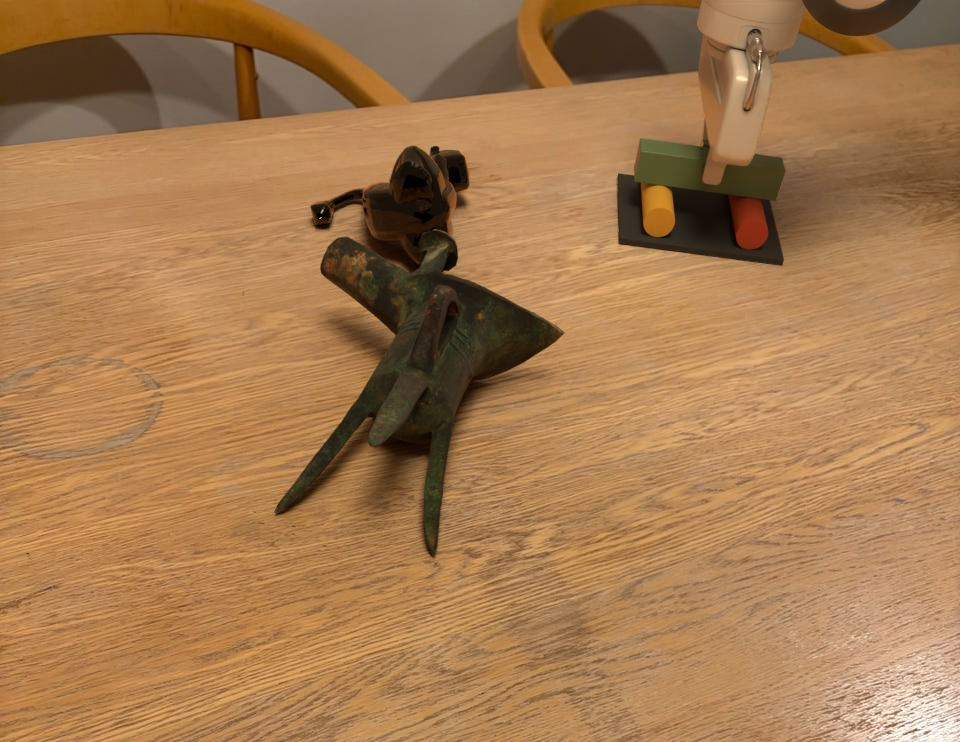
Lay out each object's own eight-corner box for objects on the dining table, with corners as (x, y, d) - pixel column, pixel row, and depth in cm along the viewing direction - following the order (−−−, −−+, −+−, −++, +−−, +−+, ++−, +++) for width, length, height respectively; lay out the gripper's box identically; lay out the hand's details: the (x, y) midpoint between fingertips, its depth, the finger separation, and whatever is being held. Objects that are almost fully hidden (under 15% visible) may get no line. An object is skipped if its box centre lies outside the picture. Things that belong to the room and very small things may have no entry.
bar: (772, 187, 102) (782, 157, 99) (776, 201, 100) (786, 170, 97) (633, 168, 101) (640, 137, 99) (634, 182, 99) (640, 150, 97)
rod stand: (766, 198, 108) (777, 164, 105) (782, 265, 99) (794, 230, 96) (617, 178, 108) (623, 143, 105) (618, 243, 98) (626, 207, 96)
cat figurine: (308, 292, 92) (354, 232, 106) (457, 271, 89) (484, 213, 103) (276, 176, 86) (329, 129, 100) (434, 150, 83) (467, 106, 97)
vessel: (485, 581, 68) (572, 350, 82) (466, 449, 59) (568, 215, 73) (231, 541, 73) (355, 329, 87) (177, 413, 64) (325, 200, 78)
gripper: (802, 61, 82) (750, 226, 93) (773, -20, 96) (731, 131, 106) (725, 50, 82) (682, 216, 92) (707, -30, 96) (671, 123, 106)
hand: (708, 170), depth 99 cm, fingers open, 3 cm apart
